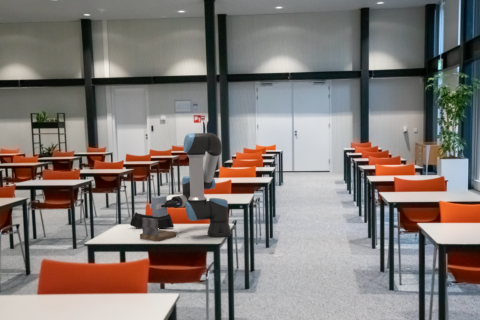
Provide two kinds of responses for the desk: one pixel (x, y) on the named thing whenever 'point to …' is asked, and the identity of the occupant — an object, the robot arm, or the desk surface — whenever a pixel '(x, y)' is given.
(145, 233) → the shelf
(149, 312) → the desk surface
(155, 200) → the slate gray rectangular prism
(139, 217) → the magazine
